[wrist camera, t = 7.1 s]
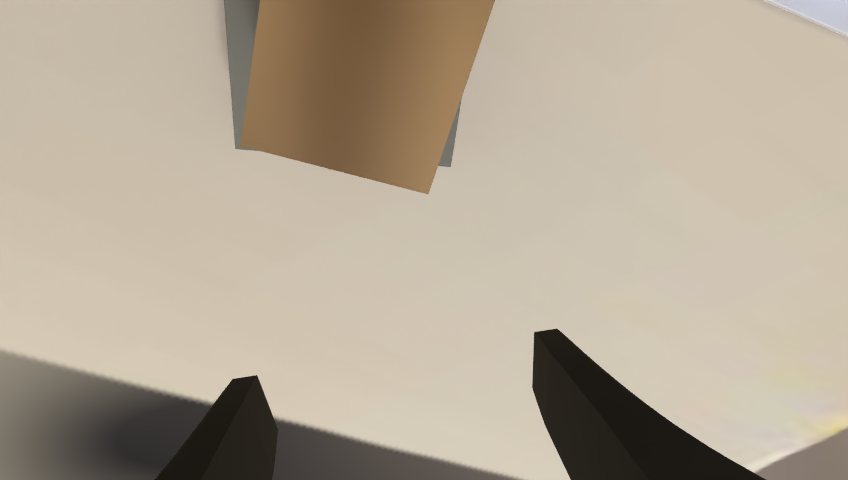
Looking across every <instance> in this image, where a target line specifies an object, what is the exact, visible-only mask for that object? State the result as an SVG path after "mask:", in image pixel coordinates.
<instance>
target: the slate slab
mask: <svg viewBox="0 0 848 480" xmlns="http://www.w3.org/2000/svg"><path fill="white" fill-rule="evenodd" d="M224 5H225V18H226V31H227V45H228V58H229V71H230V84H231V98H232V111H233V124H234V137H235V149H242V150H254V151H259V150H255V149H251V148H247V147H243V146H240V144H241V137H242V130H243V122H244V115H245V108H246V100H247V93H248V86H249V78H250V71H251V64H252V56H253V49H254V42H255V34H256V27H257V20H258V12H259V5H260V0H224ZM461 98H462V97H461ZM460 104H461V100H460V103H459V106H458V109H457V112H456V115H455V118H454V121H453V123H452V126H451V129H450V132H449V135H448V138H447V141H446V144H445V147H444V150H443V153H442V155H441V158H440V161H439V164H438V166H445V167H451V161H452V155H453V149H454V142H455V136H456V130H457V123H458V117H459V111H460Z"/></svg>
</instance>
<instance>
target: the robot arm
mask: <svg viewBox="0 0 848 480" xmlns="http://www.w3.org/2000/svg"><path fill="white" fill-rule="evenodd" d="M763 1H765V2H767V3H770V4H772V5H774V6H777V7H779V8H781V9H783V10H786V11H788V12H790V13H792V14H795V15H797V16H799V17H802V18H804V19H806V20H808V21H811V22H813V23H815V24H818V25H820V26H822V27H824V28H827V29H829V30H831V31H834V32H836V33H838V34H840V35H843V36H845V37H847V38H848V0H763ZM532 388H533V391H534V394H535V397H536V400H537V403H538V406H539V409H540V412H541V415H542V418H543V420H544V423H545V426H546V428H547V430H548V432H549V434H550V437H551V439H552V441H553V443H554V445H555V447H556V449H557V452H558V454H559V456H560V458H561V460H562V462H563V464H564V466H565V468H566V470H567V473H568V475H569V477H570V479H571V480H765V479H764V478H762V477H760V476H758V475H757V474H755V473H753V472H751V471H750V470H748V469H746V468H744V467H743V466H741V465H739V464H737V463H735V462H734V461H732V460H730V459H728V458H727V457H725V456H723V455H722V454H720V453H718V452H717V451H715V450H713V449H712V448H710V447H708V446H707V445H705V444H704V443H702V442H701V441H699V440H698V439H696V438H694V437H693V436H691V435H690V434H688V433H687V432H685V431H684V430H682V429H681V428H679V427H678V426H676V425H675V424H673V423H672V422H670V421H669V420H668V419H666V418H665V417H663V416H662V415H661V414H659V413H658V412H656V411H655V410H654V409H652V408H651V407H650V406H648V405H647V404H646V403H644V402H643V401H642V400H640V399H639V398H638V397H637V396H635V395H634V394H633V393H631V392H630V391H629V390H628V389H626V388H625V387H624V386H623V385H622V384H620V383H619V382H618V381H617V380H615V379H614V378H613V377H612V376H611V375H609V374H608V373H607V372H606V371H605V370H603V369H602V368H601V367H600V366H599V365H598V364H596V363H595V362H594V361H593V360H592V359H591V358H590V357H588V356H587V355H586V354H585V353H584V352H583V351H582V350H581V349H579V348H578V347H577V346H576V345H575V344H574V343H573V342H572V341H571V340H569V339H568V338H567V337H566V336H565V335H564V334H563V333H562V332H560V331H559V330H558V329H552V330H546V331H539V332H534V357H533V386H532ZM277 433H278V429H277V426H276V423H275V421H274V418H273V415H272V413H271V410H270V408H269V405H268V402H267V400H266V397H265V395H264V392H263V389H262V387H261V384H260V382H259V379H258V376H257V375H256V376H250V377H243V378H237V379H233V380H232V381H231V382H230V383H229V385H228V386H227V387H226V388H225V390H224V391H223V392H222V394H221V395H220V396H219V398H218V399H217V400H216V402H215V403H214V404H213V406H212V407H211V408H210V410H209V411H208V412H207V414H206V415H205V416H204V418H203V419H202V421H201V422H200V423H199V424H198V426H197V427H196V428H195V430H194V431H193V432H192V434H191V435H190V436H189V438H188V439H187V440H186V441H185V443H184V444H183V445H182V446H181V448H180V449H179V450H178V452H177V453H176V454H175V455H174V457H173V458H172V459H171V461H170V462H169V463H168V464H167V466H166V467H165V468H164V469H163V470H162V471H161V473H160V474H159V475H158V476H157V477H156V479H155V480H272V476H273V471H274V463H275V454H276V444H277Z"/></svg>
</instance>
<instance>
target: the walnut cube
mask: <svg viewBox="0 0 848 480" xmlns="http://www.w3.org/2000/svg"><path fill="white" fill-rule="evenodd" d="M494 2H495V0H260V5H259V12H258V20H257V27H256V34H255V42H254V49H253V56H252V64H251V71H250V78H249V86H248V93H247V100H246V108H245V115H244V122H243V130H242V137H241V144H240V146H243V147H247V148H251V149H255V150H259V151H263V152H267V153H271V154H274V155H278V156H282V157H286V158H290V159H294V160H298V161H301V162H305V163H309V164H313V165H317V166H321V167H325V168H328V169H332V170H336V171H340V172H344V173H348V174H352V175H356V176H359V177H363V178H367V179H371V180H375V181H379V182H383V183H386V184H390V185H394V186H398V187H402V188H406V189H410V190H414V191H417V192H421V193H425V194H428V193H429V190H430V187H431V184H432V182H433V179H434V176H435V173H436V170H437V167H438V164H439V161H440V158H441V155H442V153H443V150H444V147H445V144H446V141H447V138H448V135H449V132H450V129H451V126H452V123H453V121H454V118H455V115H456V112H457V109H458V106H459V103H460V100H461V97H462V94H463V92H464V89H465V86H466V83H467V80H468V77H469V74H470V71H471V68H472V65H473V63H474V60H475V57H476V54H477V51H478V48H479V45H480V42H481V39H482V36H483V34H484V31H485V28H486V25H487V22H488V19H489V16H490V13H491V10H492V7H493V4H494Z"/></svg>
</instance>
